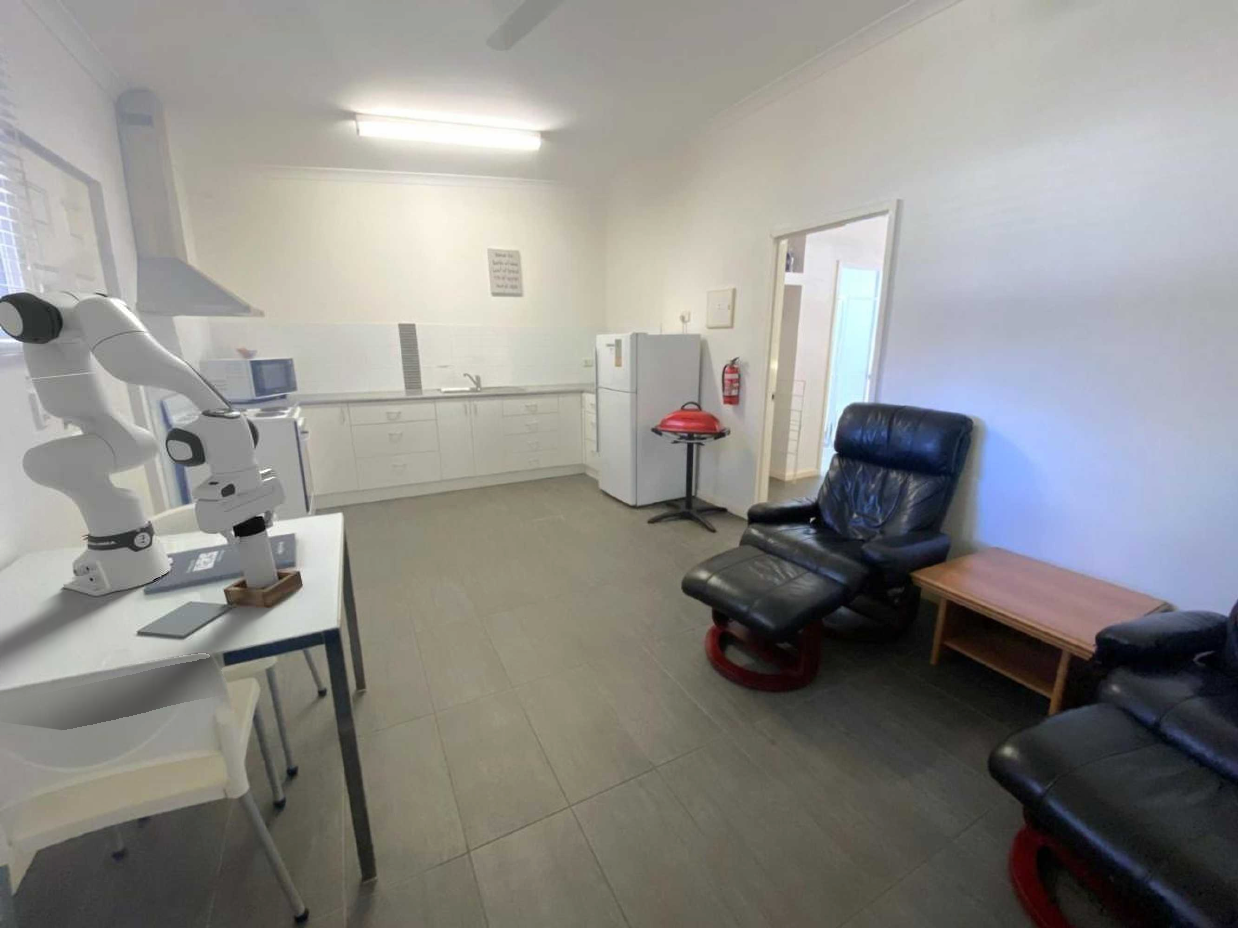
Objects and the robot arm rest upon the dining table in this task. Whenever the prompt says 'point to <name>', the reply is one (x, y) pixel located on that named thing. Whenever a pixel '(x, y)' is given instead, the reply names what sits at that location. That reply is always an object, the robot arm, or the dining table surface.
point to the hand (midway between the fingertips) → (251, 535)
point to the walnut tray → (263, 590)
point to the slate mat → (185, 619)
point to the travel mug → (255, 553)
